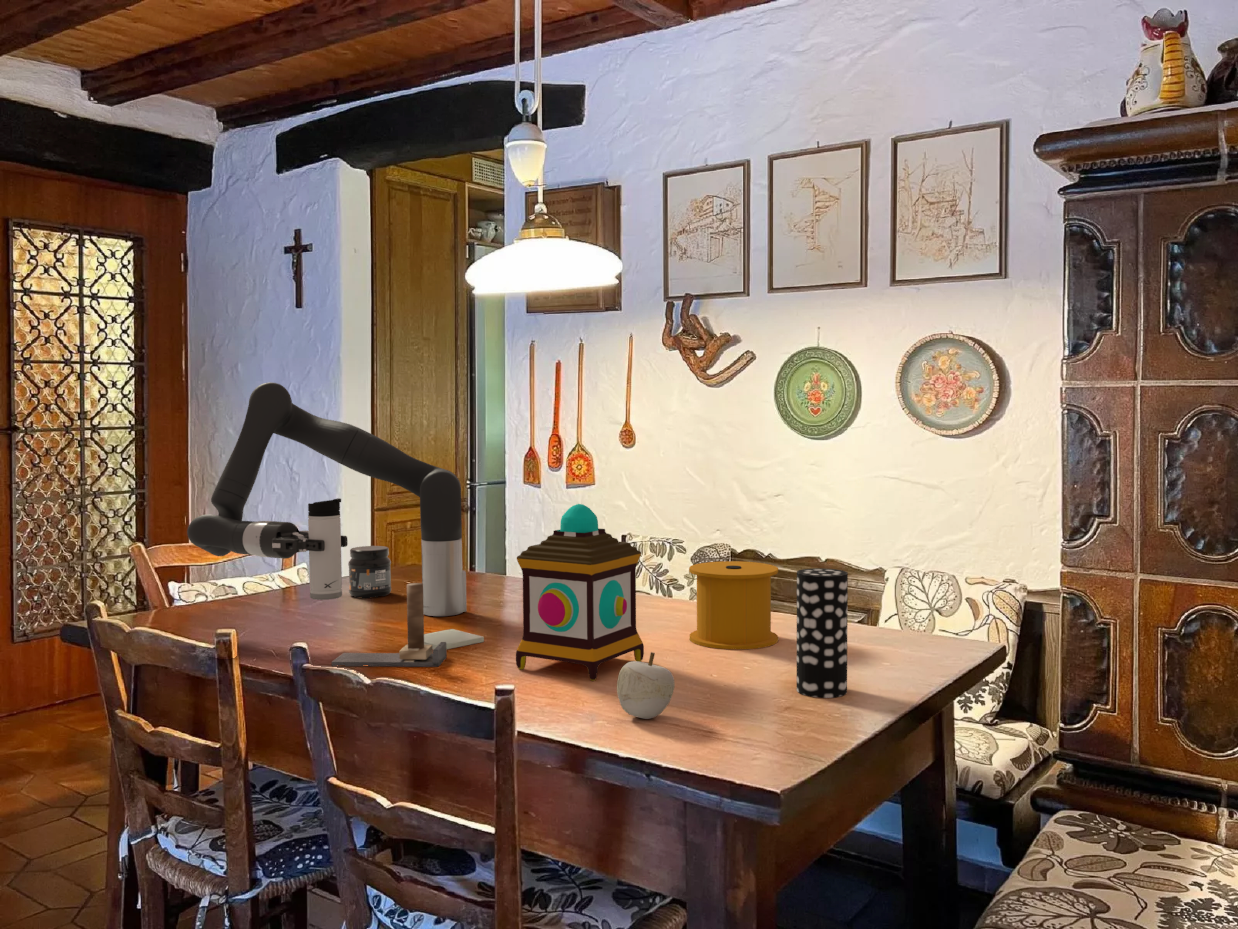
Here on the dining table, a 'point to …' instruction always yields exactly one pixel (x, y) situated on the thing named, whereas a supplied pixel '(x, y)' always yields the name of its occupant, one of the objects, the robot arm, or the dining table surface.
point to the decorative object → (644, 688)
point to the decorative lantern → (579, 595)
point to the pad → (451, 638)
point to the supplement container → (369, 571)
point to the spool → (733, 605)
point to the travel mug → (326, 562)
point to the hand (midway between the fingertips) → (334, 543)
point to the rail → (392, 659)
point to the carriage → (415, 625)
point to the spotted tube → (822, 632)
